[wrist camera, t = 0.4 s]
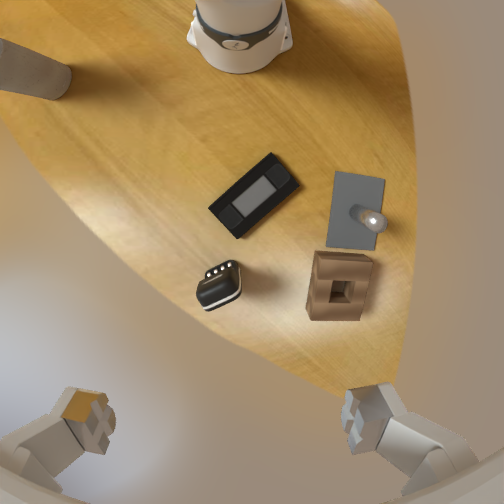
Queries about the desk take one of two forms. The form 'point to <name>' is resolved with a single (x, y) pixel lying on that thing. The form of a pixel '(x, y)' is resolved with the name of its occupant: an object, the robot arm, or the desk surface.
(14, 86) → the thermos bottle
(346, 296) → the hole block
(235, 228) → the vhs tape
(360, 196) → the mat
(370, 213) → the peg
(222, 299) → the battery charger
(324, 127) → the desk surface
